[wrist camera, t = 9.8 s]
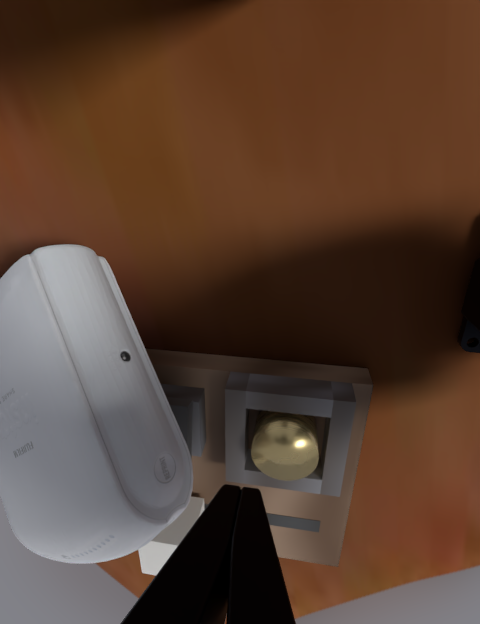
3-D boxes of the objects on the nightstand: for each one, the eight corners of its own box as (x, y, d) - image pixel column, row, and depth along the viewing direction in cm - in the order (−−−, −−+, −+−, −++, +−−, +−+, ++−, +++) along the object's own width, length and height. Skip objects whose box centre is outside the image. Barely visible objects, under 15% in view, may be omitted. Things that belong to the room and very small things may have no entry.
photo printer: (17, 236, 13) (152, 587, 11) (116, 242, 16) (230, 506, 14) (-66, 346, 18) (15, 593, 16) (23, 332, 22) (97, 532, 20)
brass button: (320, 405, 18) (322, 433, 16) (313, 453, 19) (315, 484, 17) (256, 399, 18) (251, 425, 16) (255, 446, 20) (250, 475, 18)
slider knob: (204, 498, 22) (190, 547, 19) (205, 531, 23) (192, 581, 20) (156, 491, 22) (136, 538, 19) (160, 524, 23) (142, 572, 20)
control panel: (368, 368, 18) (379, 404, 16) (335, 543, 24) (340, 592, 21) (131, 347, 20) (105, 376, 18) (153, 514, 26) (136, 557, 23)
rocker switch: (192, 399, 17) (188, 407, 16) (190, 480, 18) (186, 491, 17) (138, 393, 18) (131, 400, 17) (138, 473, 18) (131, 483, 18)
